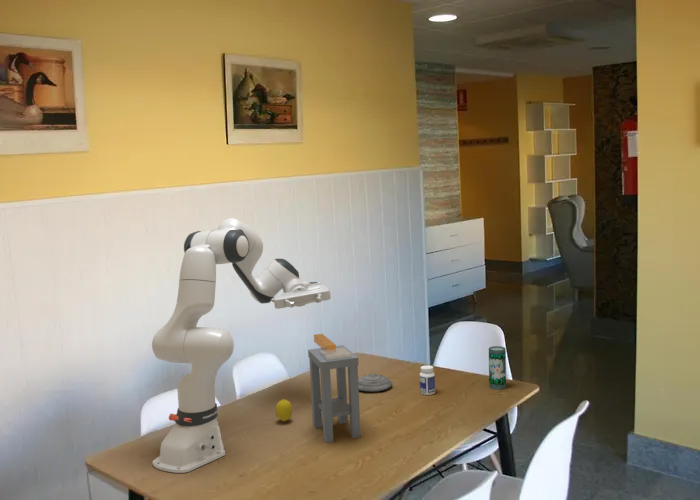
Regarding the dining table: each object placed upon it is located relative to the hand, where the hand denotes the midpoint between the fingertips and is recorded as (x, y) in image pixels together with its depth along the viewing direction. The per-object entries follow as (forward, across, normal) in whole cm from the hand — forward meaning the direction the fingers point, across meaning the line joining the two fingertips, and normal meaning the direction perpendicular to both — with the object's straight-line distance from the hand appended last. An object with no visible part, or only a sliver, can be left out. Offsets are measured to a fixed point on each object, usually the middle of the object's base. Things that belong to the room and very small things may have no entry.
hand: (305, 302), depth 230 cm
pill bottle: (-2, +42, +43) cm, 60 cm away
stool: (+22, +1, +38) cm, 44 cm away
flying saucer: (-16, +24, +43) cm, 51 cm away
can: (+1, +68, +46) cm, 82 cm away
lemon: (+8, -14, +38) cm, 41 cm away
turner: (+16, +3, +13) cm, 20 cm away
